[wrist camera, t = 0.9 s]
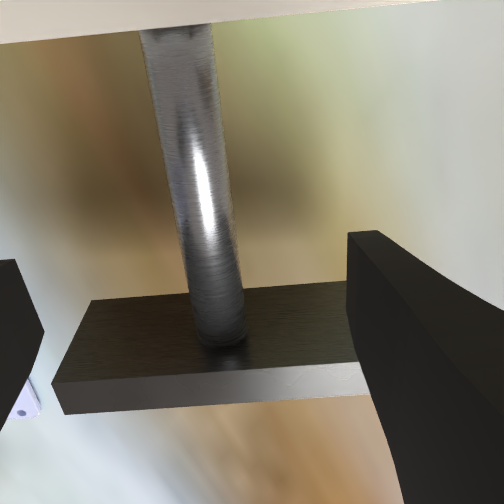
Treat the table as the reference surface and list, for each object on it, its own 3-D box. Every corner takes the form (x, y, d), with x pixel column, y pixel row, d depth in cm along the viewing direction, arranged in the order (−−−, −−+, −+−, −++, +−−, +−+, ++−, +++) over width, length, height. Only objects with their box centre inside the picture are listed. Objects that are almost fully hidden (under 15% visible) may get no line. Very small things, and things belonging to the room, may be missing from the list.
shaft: (100, 328, 20) (64, 415, 16) (-91, -254, 11) (-285, -387, 7) (360, 309, 19) (389, 392, 15) (386, -314, 10) (470, -491, 6)
